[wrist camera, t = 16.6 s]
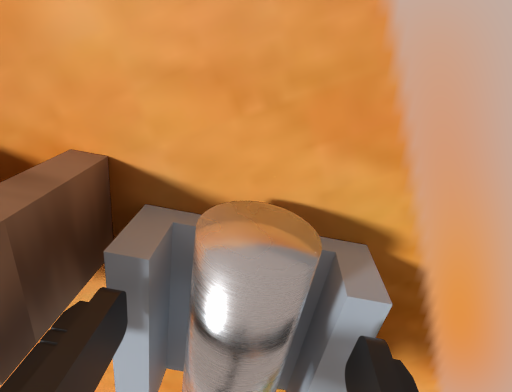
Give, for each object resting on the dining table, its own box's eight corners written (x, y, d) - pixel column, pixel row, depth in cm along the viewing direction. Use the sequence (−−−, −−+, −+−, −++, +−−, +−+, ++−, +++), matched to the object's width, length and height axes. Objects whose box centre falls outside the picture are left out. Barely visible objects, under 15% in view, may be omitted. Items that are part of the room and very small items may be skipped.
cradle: (311, 377, 18) (318, 447, 15) (146, 347, 18) (117, 410, 15) (366, 244, 13) (392, 304, 10) (145, 204, 13) (103, 251, 10)
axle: (263, 389, 17) (257, 484, 13) (192, 376, 17) (166, 467, 13) (315, 212, 12) (330, 288, 8) (211, 192, 12) (177, 259, 8)
